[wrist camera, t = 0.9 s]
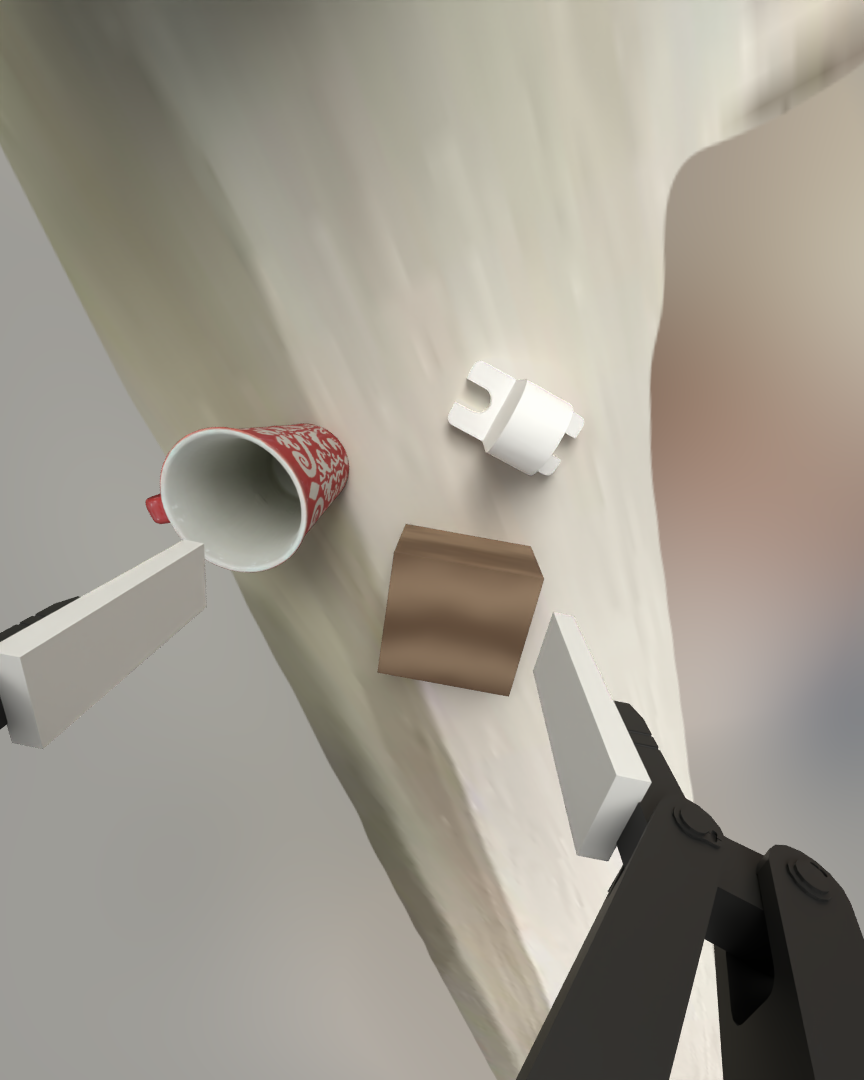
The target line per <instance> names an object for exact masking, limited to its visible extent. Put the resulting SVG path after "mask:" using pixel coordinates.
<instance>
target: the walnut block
mask: <svg viewBox="0 0 864 1080" xmlns="http://www.w3.org/2000/svg"><path fill="white" fill-rule="evenodd" d="M543 581H544V578H543V575H542V573H541V570H540V568H539V565H538V563H537V560H536V558H535V556H534V553H533V551H532V548H531V546H525V545H520V544H514V543H508V542H503V541H497V540H492V539H486V538H481V537H475V536H469V535H464V534H458V533H453V532H447V531H442V530H436V529H430V528H425V527H419V526H414V525H408V524H406V525H405V527H404V530H403V532H402V534H401V537H400V539H399V542H398V544H397V547H396V549H395V551H394V557H393V564H392V571H391V579H390V586H389V593H388V600H387V607H386V615H385V622H384V629H383V636H382V643H381V651H380V658H379V665H378V673H383V674H389V675H394V676H400V677H405V678H411V679H416V680H422V681H427V682H432V683H438V684H443V685H449V686H454V687H460V688H465V689H471V690H476V691H482V692H487V693H492V694H498V695H503V696H509V694H510V691H511V688H512V684H513V681H514V678H515V674H516V671H517V668H518V664H519V661H520V658H521V654H522V651H523V647H524V644H525V641H526V637H527V634H528V631H529V627H530V624H531V621H532V617H533V614H534V611H535V607H536V604H537V601H538V597H539V594H540V591H541V587H542V584H543Z"/></svg>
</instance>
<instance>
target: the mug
mask: <svg viewBox="0 0 864 1080" xmlns="http://www.w3.org/2000/svg"><path fill="white" fill-rule="evenodd" d="M348 473H349V463H348V458H347V454H346V452H345V449H344V447H343V446H342V444H341V443H340V441H339V440H338V439H337V438H336V437H335V436H334V435H333V434H332V433H331V432H329V431H328V430H326V429H324V428H322V427H319V426H316V425H312V424H294V425H284V426H270V427H259V428H244V429H234V428H228V427H211V428H205V429H201V430H198V431H195V432H192V433H190V434H188V435H187V436H185V437H183V438H182V439H181V440H180V441H178V442H177V443H176V444H175V445H174V447H173V448H172V449H171V450H170V451H169V453H168V455H167V456H166V459H165V461H164V463H163V466H162V470H161V476H160V494H158V495H155V496H152V497H150V498H148V499H147V500H146V507H147V509H148V511H149V513H150V515H151V517H152V518H153V520H154V521H155V522H156V523H159V524H165V523H171V525H172V526H173V528H174V529H175V531H176V532H177V534H178V535H179V537H180V538H181V539H182V540H189V541H194V542H199V543H204V551H205V560H207V561H209V562H211V563H213V564H215V565H217V566H219V567H222V568H225V569H228V570H232V571H238V572H250V573H251V572H259V571H265V570H269V569H271V568H274V567H276V566H278V565H280V564H282V563H283V562H285V561H286V560H287V559H289V558H290V557H291V556H292V555H293V554H294V553H295V552H296V551H297V549H298V548H299V546H300V544H301V543H302V541H303V538H304V536H305V535H306V534H307V532H308V531H309V530H310V529H311V528H312V526H313V525H314V524H315V523H316V521H317V520H318V519H319V518H320V516H321V515H322V514H323V513H324V512H325V511H326V509H327V508H328V507H329V506H330V504H331V503H332V502H333V500H334V499H335V498H336V497H337V496H338V495H339V493H340V492H341V491H342V489H343V488H344V486H345V484H346V481H347V478H348Z"/></svg>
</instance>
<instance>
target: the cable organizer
mask: <svg viewBox="0 0 864 1080" xmlns="http://www.w3.org/2000/svg"><path fill="white" fill-rule="evenodd" d="M467 379H469V380H470V381H472V382H474V383H476V384H478V385H479V386H481V387H483V388H485V389H486V390H487V391H488V392H489V394H490V403H489V406H488V407H487V408H486V409H485V410H483V411H481V412H475V411H472V410H471V409H469V408H467V407H465V406H463V405H462V404H460V403H458V402H456V401H455V403H454V405H453V406H452V408H451V410H450V412H449V415H448V421H449V422H450V424H451V425H453V426H455V427H457V428H459V429H461V430H462V431H464V432H466V433H468V434H470V435H472V436H473V437H475V438H477V439H479V440H481V441H482V442H483V445H484V448H485V452H486V453H488V454H490V455H492V456H494V457H496V458H498V459H500V460H501V461H503V462H505V463H507V464H509V465H511V466H513V467H514V468H516V469H518V470H520V471H522V472H524V473H526V474H527V475H530V476H531V475H533V474H535V473H536V472H537V471H538V472H540V473H542V474H544V475H550V474H552V473H553V472H554V471H555V470H556V468H557V466H558V465H559V463H560V462H561V460H560V459H559V458H558V457H556V456H555V455H553V452H554V451H555V449H556V448H557V446H558V444H559V443H560V441H561V439H562V437H563V436H564V434H565V433H566V434H568V435H569V436H571V437H573V438H576V437H577V435H578V434H579V432H580V430H581V429H582V427H583V425H584V419H583V418H582V416H580V415H579V414H577V413H575V412H573V406H572V405H571V404H570V403H568V402H566V401H564V400H563V399H561V398H559V397H557V396H556V395H554V394H552V393H550V392H549V391H547V390H545V389H543V388H542V387H540V386H538V385H536V384H534V383H533V382H531V381H529V380H527V379H518V380H516V379H515V378H513V377H511V376H509V375H507V374H506V373H504V372H502V371H500V370H499V369H497V368H495V367H493V366H491V365H490V364H488V363H486V362H484V361H477V362H476V363H475V364H474V365H473V367H472V369H471V371H470V373H469V375H468V377H467Z"/></svg>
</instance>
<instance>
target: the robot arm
mask: <svg viewBox="0 0 864 1080" xmlns="http://www.w3.org/2000/svg"><path fill="white" fill-rule="evenodd" d="M205 608H206V579H205V551H204V543H199V542H194V541H189V540H182V541H180V542H179V543H177V544H175V545H173V546H171V547H170V548H168V549H166V550H164V551H163V552H161V553H159V554H157V555H155V556H154V557H152V558H150V559H148V560H146V561H145V562H143V563H141V564H139V565H138V566H136V567H134V568H132V569H130V570H129V571H127V572H125V573H123V574H121V575H120V576H118V577H116V578H114V579H112V580H111V581H109V582H107V583H105V584H104V585H102V586H100V587H98V588H96V589H94V590H93V591H91V592H89V593H87V594H86V595H84V596H82V597H78V596H77V597H74V598H71V599H68V600H65V601H62V602H59V603H56V604H53V605H51V606H50V607H48V608H46V609H44V610H42V611H40V612H38V613H37V614H36V615H35V616H31V617H29V618H27V619H25V620H24V621H22V622H20V624H19V625H14V626H12V627H11V628H9V629H7V630H5V631H3V632H1V633H0V729H1V728H3V727H4V726H5V725H7V727H8V730H9V734H10V737H11V741H12V743H16V744H20V745H25V746H30V747H35V748H40V749H43V748H45V747H46V746H47V745H48V744H49V743H50V742H51V741H53V740H54V739H55V738H56V737H57V736H59V735H60V734H61V733H62V732H63V731H64V730H65V729H66V728H68V727H69V726H70V725H71V724H72V723H74V722H75V721H76V720H77V719H78V718H79V717H80V716H81V715H83V714H84V713H85V712H86V711H87V710H89V708H91V707H92V706H93V705H94V704H95V703H96V702H98V701H99V700H100V699H101V698H102V697H103V696H105V695H106V694H107V693H108V692H109V691H110V690H111V689H113V688H114V687H115V686H116V685H117V684H118V683H120V682H121V681H122V680H123V679H124V678H125V677H126V676H127V675H129V674H130V673H131V672H132V671H133V670H135V669H136V668H137V667H138V666H139V665H140V664H141V663H143V662H144V661H145V660H146V659H147V658H148V657H149V656H150V655H152V654H153V653H154V652H155V651H156V650H157V649H159V648H160V647H161V646H162V645H163V644H164V643H166V642H167V641H168V640H169V639H170V638H171V637H173V636H174V635H175V634H176V633H177V632H178V631H179V630H181V629H182V628H183V627H184V626H185V625H186V624H187V623H189V622H190V621H191V620H192V619H193V618H194V617H195V616H197V615H198V614H199V613H200V612H201V611H202V610H204V609H205ZM533 673H534V677H535V681H536V685H537V689H538V694H539V698H540V702H541V706H542V711H543V715H544V719H545V723H546V727H547V732H548V736H549V740H550V744H551V749H552V753H553V757H554V761H555V765H556V770H557V774H558V778H559V782H560V786H561V791H562V795H563V799H564V803H565V808H566V812H567V816H568V820H569V824H570V829H571V833H572V837H573V841H574V846H575V850H576V854H577V855H578V856H583V857H589V858H594V859H599V860H604V861H609V859H610V857H611V855H612V853H613V852H614V850H615V848H616V846H617V847H618V850H619V853H620V856H621V859H622V862H623V866H622V868H621V869H620V871H619V873H618V874H617V876H616V878H615V880H614V881H613V883H612V885H611V887H610V888H609V890H608V892H609V893H608V895H607V897H606V899H605V901H604V903H603V905H602V907H601V909H600V911H599V913H598V915H597V917H596V919H595V921H594V923H593V925H592V927H591V929H590V931H589V933H588V935H587V937H586V939H585V941H584V943H583V945H582V947H581V949H580V951H579V954H578V956H577V958H576V960H575V962H574V964H573V966H572V968H571V970H570V972H569V974H568V976H567V978H566V980H565V982H564V984H563V986H562V988H561V990H560V992H559V994H558V996H557V998H556V1000H555V1002H554V1004H553V1006H552V1008H551V1010H550V1012H549V1014H548V1016H547V1018H546V1020H545V1022H544V1024H543V1026H542V1028H541V1030H540V1032H539V1034H538V1036H537V1038H536V1040H535V1042H534V1044H533V1046H532V1048H531V1050H530V1052H529V1054H528V1056H527V1058H526V1060H525V1062H524V1064H523V1066H522V1068H521V1071H520V1073H519V1075H518V1077H517V1079H516V1080H669V1077H670V1073H671V1069H672V1065H673V1062H674V1058H675V1054H676V1050H677V1046H678V1042H679V1038H680V1034H681V1030H682V1026H683V1022H684V1018H685V1014H686V1010H687V1006H688V1002H689V998H690V994H691V990H692V986H693V982H694V978H695V974H696V970H697V966H698V962H699V958H700V954H701V950H702V946H703V942H704V939H705V940H707V941H709V942H711V943H713V944H714V953H715V967H716V981H717V996H718V1010H719V1024H720V1039H721V1053H722V1067H723V1080H864V939H863V936H862V933H861V930H860V928H859V925H858V922H857V919H856V917H855V914H854V911H853V908H852V905H851V903H850V901H849V899H848V897H847V896H846V894H845V892H844V890H843V889H842V887H841V886H840V885H839V884H838V883H837V882H836V881H835V879H834V878H833V877H832V876H831V874H830V873H828V872H827V871H826V870H825V869H824V868H823V867H822V866H820V865H819V864H818V863H817V862H816V861H814V860H813V859H812V858H810V857H808V856H807V855H805V854H804V853H802V852H801V851H798V850H796V849H794V848H791V847H789V846H786V845H775V846H773V847H772V848H770V849H769V850H768V851H767V853H766V854H765V855H761V854H759V853H757V852H755V851H753V850H751V849H749V848H747V847H745V846H743V845H741V844H738V843H736V842H734V841H732V840H730V839H728V838H727V837H725V836H724V835H723V833H722V831H721V829H720V827H719V826H718V825H717V823H716V822H715V821H714V820H713V819H712V817H711V816H710V815H709V814H708V813H706V812H705V811H704V810H703V809H701V808H700V807H699V806H698V805H696V804H695V803H693V802H691V801H689V800H688V799H686V798H685V796H684V794H683V792H682V791H681V789H680V787H679V785H678V783H677V781H676V779H675V777H674V776H673V774H672V772H671V770H670V768H669V766H668V764H667V762H666V760H665V759H664V757H663V755H662V753H661V751H660V750H658V745H657V744H656V742H655V740H654V738H653V737H651V732H650V730H649V728H648V727H647V725H646V723H645V721H644V719H643V718H642V717H641V716H640V715H639V714H638V713H637V711H636V710H635V709H634V708H633V707H632V706H631V705H630V704H628V703H623V702H618V701H613V699H612V696H611V694H610V692H609V690H608V688H607V686H606V684H605V682H604V679H603V677H602V675H601V673H600V671H599V669H598V667H597V664H596V662H595V660H594V658H593V656H592V654H591V652H590V649H589V647H588V645H587V643H586V641H585V639H584V637H583V634H582V632H581V630H580V628H579V626H578V624H577V622H576V619H575V617H574V616H572V615H567V614H562V613H556V612H553V614H552V617H551V620H550V623H549V626H548V629H547V632H546V635H545V638H544V641H543V644H542V647H541V650H540V653H539V656H538V658H537V661H536V664H535V667H534V670H533Z"/></svg>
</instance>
